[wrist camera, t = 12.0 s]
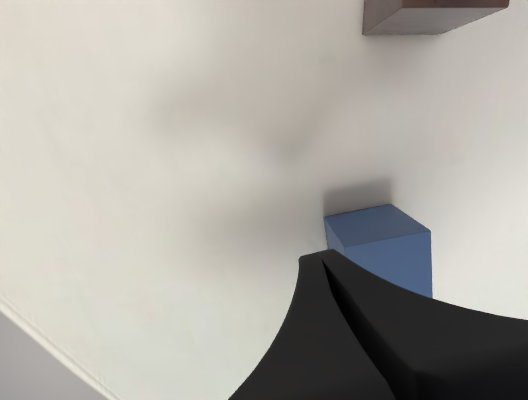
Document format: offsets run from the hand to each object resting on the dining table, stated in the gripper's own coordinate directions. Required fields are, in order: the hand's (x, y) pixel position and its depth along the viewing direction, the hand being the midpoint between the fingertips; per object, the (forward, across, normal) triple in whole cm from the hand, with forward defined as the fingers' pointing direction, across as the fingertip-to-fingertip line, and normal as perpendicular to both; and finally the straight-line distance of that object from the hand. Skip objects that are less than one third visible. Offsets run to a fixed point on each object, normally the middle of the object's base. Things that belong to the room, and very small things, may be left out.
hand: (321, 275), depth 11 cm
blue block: (+9, -4, +4) cm, 10 cm away
